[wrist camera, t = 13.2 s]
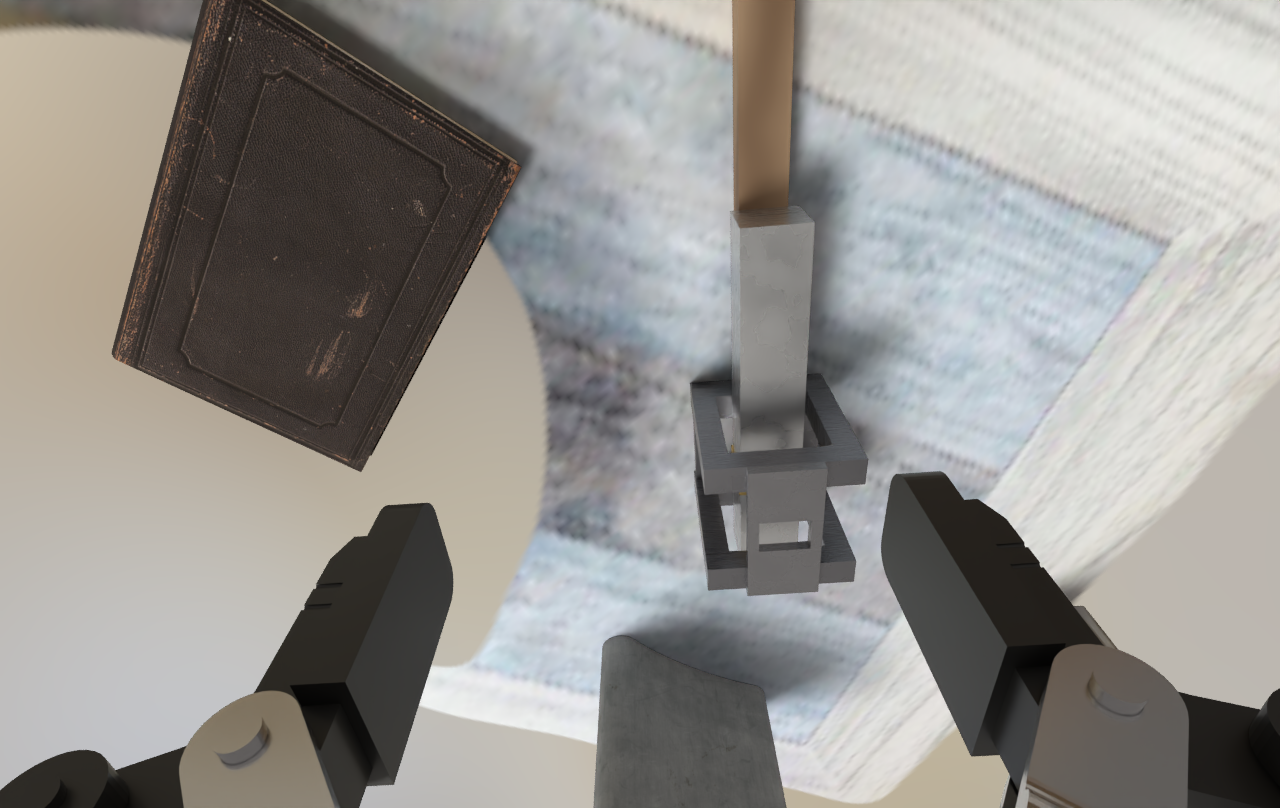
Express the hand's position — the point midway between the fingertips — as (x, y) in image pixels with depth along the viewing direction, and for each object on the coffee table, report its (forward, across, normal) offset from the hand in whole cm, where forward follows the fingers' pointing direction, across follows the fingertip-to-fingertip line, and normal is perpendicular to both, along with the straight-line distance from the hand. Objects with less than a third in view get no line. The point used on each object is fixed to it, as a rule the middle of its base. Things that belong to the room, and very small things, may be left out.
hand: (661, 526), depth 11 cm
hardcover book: (+29, +19, +2) cm, 35 cm away
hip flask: (+28, -1, +41) cm, 50 cm away
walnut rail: (+28, -6, -1) cm, 28 cm away
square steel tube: (+26, -7, +12) cm, 29 cm away
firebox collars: (+28, -7, +16) cm, 33 cm away
